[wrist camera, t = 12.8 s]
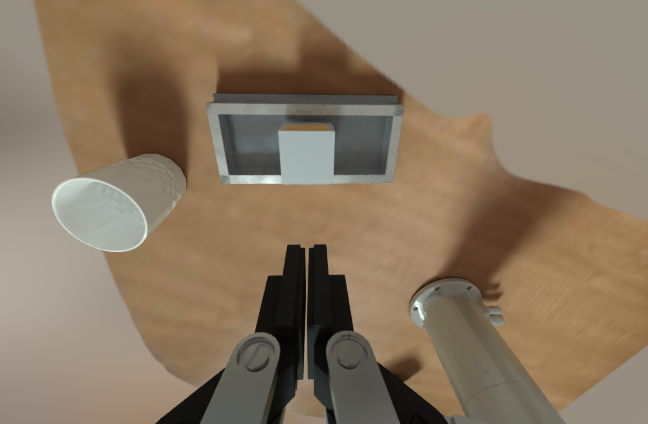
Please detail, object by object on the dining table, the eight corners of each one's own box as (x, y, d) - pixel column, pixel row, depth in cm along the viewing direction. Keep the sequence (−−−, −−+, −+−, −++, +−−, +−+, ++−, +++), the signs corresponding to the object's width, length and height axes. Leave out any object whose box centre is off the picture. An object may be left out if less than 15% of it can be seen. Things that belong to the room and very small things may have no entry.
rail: (395, 95, 28) (405, 97, 25) (384, 178, 33) (391, 188, 30) (216, 93, 27) (203, 94, 24) (231, 178, 32) (222, 189, 29)
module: (329, 118, 28) (335, 129, 22) (328, 162, 30) (333, 184, 24) (285, 117, 28) (277, 129, 22) (288, 162, 30) (281, 184, 24)
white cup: (112, 174, 31) (34, 212, 22) (150, 134, 29) (80, 158, 20) (167, 216, 34) (117, 264, 25) (205, 183, 32) (164, 223, 23)
